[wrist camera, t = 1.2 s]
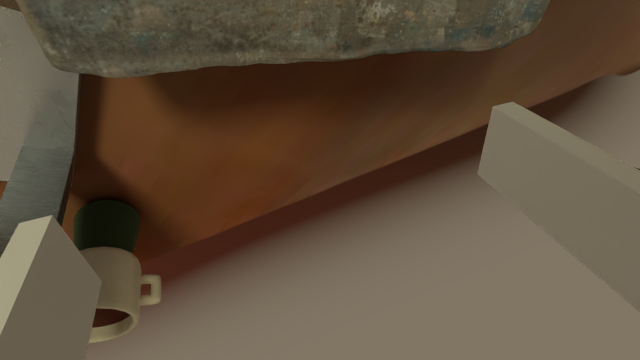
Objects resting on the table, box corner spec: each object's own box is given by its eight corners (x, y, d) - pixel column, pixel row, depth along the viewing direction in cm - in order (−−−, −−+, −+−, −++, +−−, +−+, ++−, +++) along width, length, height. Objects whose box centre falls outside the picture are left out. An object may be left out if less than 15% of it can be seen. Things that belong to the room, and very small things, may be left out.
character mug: (50, 232, 40) (20, 351, 31) (48, 188, 35) (12, 312, 27) (157, 234, 45) (155, 336, 37) (166, 196, 41) (166, 302, 32)
